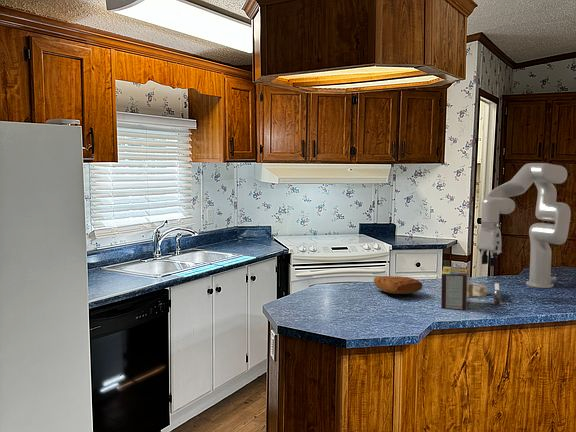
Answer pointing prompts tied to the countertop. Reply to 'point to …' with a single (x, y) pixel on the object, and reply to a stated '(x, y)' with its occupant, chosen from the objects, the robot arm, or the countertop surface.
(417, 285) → the cuneiform tablet
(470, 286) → the stile
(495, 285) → the white long bar
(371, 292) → the countertop surface
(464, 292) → the protein box
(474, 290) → the tan cube
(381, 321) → the countertop surface
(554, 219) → the robot arm
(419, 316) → the countertop surface
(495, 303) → the knob on square plate
